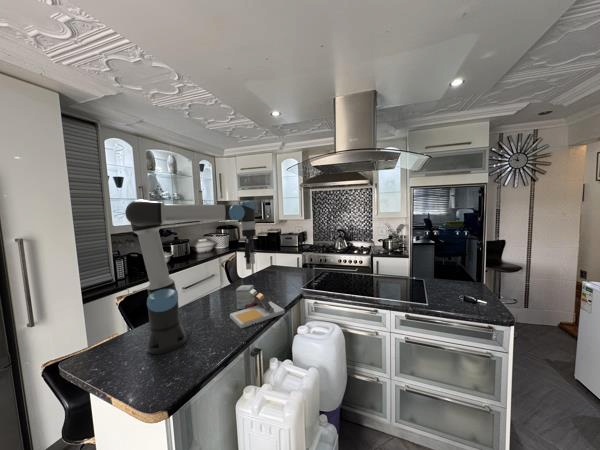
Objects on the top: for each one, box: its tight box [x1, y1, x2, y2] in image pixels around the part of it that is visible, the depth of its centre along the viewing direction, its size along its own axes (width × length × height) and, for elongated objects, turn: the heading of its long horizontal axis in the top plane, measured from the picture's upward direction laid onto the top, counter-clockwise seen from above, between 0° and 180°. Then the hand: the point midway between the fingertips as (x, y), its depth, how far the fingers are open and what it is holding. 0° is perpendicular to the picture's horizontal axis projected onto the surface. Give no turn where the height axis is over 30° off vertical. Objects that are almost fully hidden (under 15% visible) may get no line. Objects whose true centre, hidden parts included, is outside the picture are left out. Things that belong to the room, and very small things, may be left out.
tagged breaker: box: [256, 292, 272, 311], centre depth 131 cm, size 3×4×11 cm
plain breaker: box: [250, 288, 262, 306], centre depth 139 cm, size 3×4×11 cm
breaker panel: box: [229, 301, 286, 329], centre depth 133 cm, size 25×16×4 cm, turn 125°
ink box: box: [235, 284, 256, 310], centre depth 146 cm, size 9×9×12 cm
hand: (250, 266), depth 139 cm, fingers open, 13 cm apart
